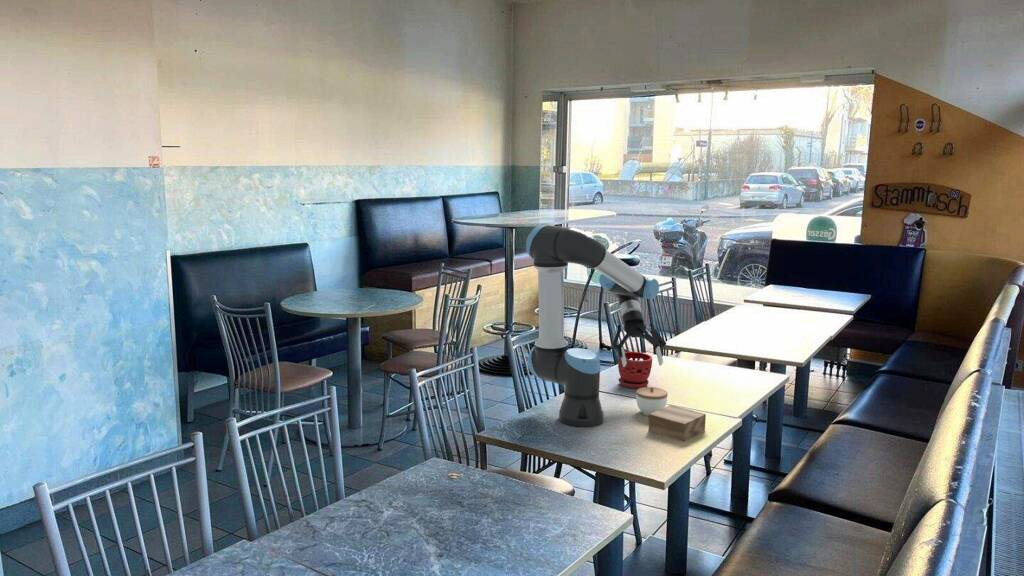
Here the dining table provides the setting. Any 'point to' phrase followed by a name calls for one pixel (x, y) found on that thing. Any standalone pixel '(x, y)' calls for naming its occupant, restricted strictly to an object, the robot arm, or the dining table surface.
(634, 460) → the dining table surface
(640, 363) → the plant pot
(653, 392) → the lidded jar
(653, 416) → the walnut block
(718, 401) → the dining table surface
